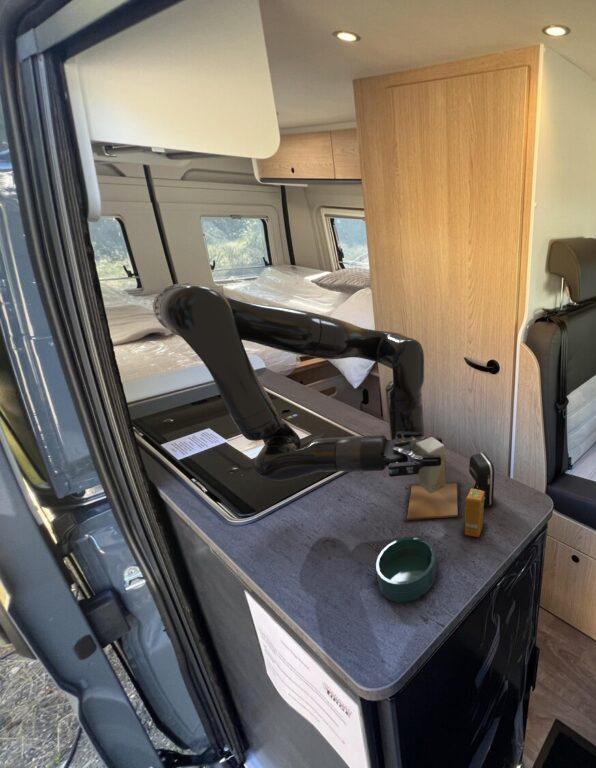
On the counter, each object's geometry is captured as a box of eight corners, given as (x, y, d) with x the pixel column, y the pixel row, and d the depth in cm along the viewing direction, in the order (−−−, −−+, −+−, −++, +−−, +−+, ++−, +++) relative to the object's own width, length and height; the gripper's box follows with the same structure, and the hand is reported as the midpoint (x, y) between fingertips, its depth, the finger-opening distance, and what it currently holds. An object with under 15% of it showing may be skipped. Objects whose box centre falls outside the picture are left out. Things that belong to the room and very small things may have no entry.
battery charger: (467, 492, 94) (467, 452, 90) (481, 487, 96) (482, 449, 91) (479, 510, 89) (479, 469, 84) (494, 505, 90) (495, 465, 86)
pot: (383, 556, 76) (380, 539, 74) (436, 551, 78) (436, 535, 76) (373, 605, 67) (370, 587, 65) (434, 599, 68) (433, 581, 66)
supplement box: (480, 538, 81) (480, 500, 77) (464, 535, 82) (464, 497, 78) (484, 526, 84) (484, 490, 80) (469, 523, 85) (468, 487, 81)
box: (446, 486, 88) (445, 445, 84) (429, 494, 85) (428, 453, 81) (433, 475, 92) (432, 435, 87) (417, 483, 89) (415, 442, 84)
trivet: (411, 487, 95) (411, 485, 95) (457, 485, 96) (457, 483, 96) (407, 520, 85) (407, 518, 85) (457, 516, 87) (457, 514, 86)
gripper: (352, 458, 75) (440, 455, 77) (367, 421, 88) (442, 420, 90) (356, 489, 78) (441, 485, 80) (370, 449, 91) (442, 447, 93)
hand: (441, 451), depth 85 cm, fingers closed on box, 6 cm apart
